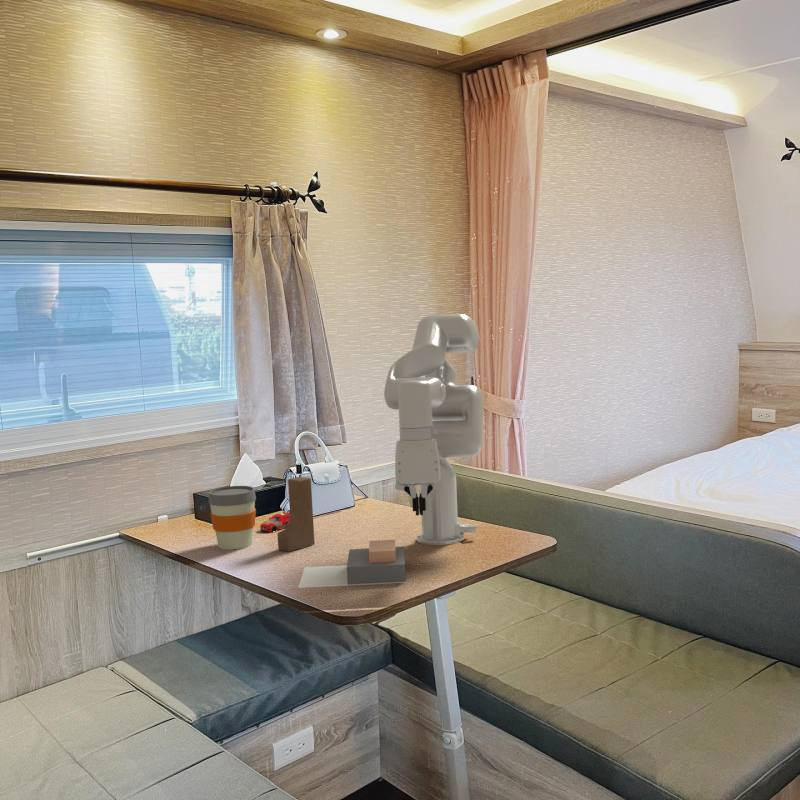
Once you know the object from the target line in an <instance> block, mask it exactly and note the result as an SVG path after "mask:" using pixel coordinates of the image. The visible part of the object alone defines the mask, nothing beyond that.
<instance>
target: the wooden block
mask: <svg viewBox="0 0 800 800" xmlns="http://www.w3.org/2000/svg"><path fill="white" fill-rule="evenodd" d="M287 485H288V486H287V487H288V502H289V503H288V504H289V513H290V520H289V524H288V526H287V527H286V528H284V529H283V530H281V531H279V532H277V546H278V547H277V548H278V550H280V551H284V552H287V553H289V552H293V551H297V550H301V549H303V548H307V547H310V546H314V545H315V529H314V527H315V526H314V510H313V509H314V508H313V495H312V494H313V493H312V492H313V491H312V479H311V478H310V477H305V476H297V477H290V478H289V479H287Z"/></svg>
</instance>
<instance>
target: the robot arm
mask: <svg viewBox="0 0 800 800" xmlns="http://www.w3.org/2000/svg"><path fill="white" fill-rule="evenodd" d="M415 331H416V332H415V336H414V339H413V340H414V341H413V344H412V349H410V350H409V351H408V352H406V353H404V354H403V355H402V356H401V357H400V358H398V359H397V360H396V361H394V363H392V365H391V366H390V367H389V370H388V371H387V377H386V380H385V384H384V391H383V392H384V394H383V395H384V396H383V397H384V402H385V404H386V406H387V407H389V408H390V409H391V410H395V411H397V410H398V423H399V424H398V425H399V439H398V440H397V441H396V444H395V451H394V452H395V453H394V454H395V459H394V462H395V463H394V470H395V472H394V473H395V484H394V489H395V490H396V491H403V492H406V494H408V495H409V496H410V497H411V499H412V500H411V504H412V512H415V516H416V517H417V516H419V515H420V516H421V532H419V533H418V534H417V535H416V541H417V542H418V543H420V544H422V545H427V546H428V545H429V546H448V545H449V546H450V545H453V544H459V543H461V542H463V541H464V540H465V533H477V532H476V531H477V527H476V526H477V525H476V524H471V523H464V524H463V523H460V521H459V518H458V517H459V516H458V498H457V497H458V495H457V473H456V471H455V468H454V467H453V465H452V464H451V463H450V462H449V461H448V460H447V459H446V458H472V457H476V456H478V454H480V452H481V451H482V445H483V425H484V424H483V420H484V419H483V418H484V417H483V415H484V402H483V401H484V400H483V395H482V391H481V390H480V388H479V387H478V386H476V385H474V384H472V385H471V384H457V372H456V369H455V368H454V366H453V365H452V364H451V363H450V362H449V361H448V360H447V359H446V355H447V354H463V353H464V354H466V353H473V352H475V351H476V349H477V348H478V346H479V343H480V342H479V341H480V333H479V329H478V326H477V324H476V322H475V321H474V320H473V319H472V318H471V317H470V316H468V315H466V314H465V313H451V314H450V313H449V314H448V313H447V314H432V315H428V316H427V315H426V316H425V317H423V318H422V319H420V321H419V322H418V324H417V327H416V330H415ZM417 485H418V486H419V487H420V489H419V491H420V493H419V496H418V493H417V491H416V486H417ZM462 540H463V541H462ZM458 542H459V543H458Z"/></svg>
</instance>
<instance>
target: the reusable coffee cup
mask: <svg viewBox="0 0 800 800" xmlns="http://www.w3.org/2000/svg"><path fill="white" fill-rule="evenodd" d="M256 500H257V496H256V491H255V487H254V486H250V485H230V486H222V487H218V488H214V489H211V490H209V492H208V504H209V505H210V518H211V523H212V529H213V530H214V531H215V536H216V542H217V546H218V548H219V549H220V548H221V549H220V550H224V549H225V550H224V551H234V550H233V549H237V550H242V549H241V548H243V549H246V548H248V546H249V547H251V546H252V545H253V540H254V538H253V536H254V527H255V526H256V517H257V516H256V515H257V509H256V508H255V506H256V504H255V503H256ZM250 545H251V546H250ZM245 547H246V548H245Z"/></svg>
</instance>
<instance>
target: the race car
mask: <svg viewBox="0 0 800 800" xmlns="http://www.w3.org/2000/svg"><path fill="white" fill-rule="evenodd" d="M289 520H290V512H280V513H279V512H278V513H276V514H274V515H272V516H271V517H269V518H268V519H267V520H266V521H263V522H262V523H260V525H259V527H260V531H261V532H268V533H269V532H271V533H274V532H273V531H275V532H277V531H280V530H282V529H283V528H284V529H286V528H285V527H287V526H288V524H289ZM279 529H280V530H279ZM284 529H283V530H284ZM276 530H277V531H276Z"/></svg>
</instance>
